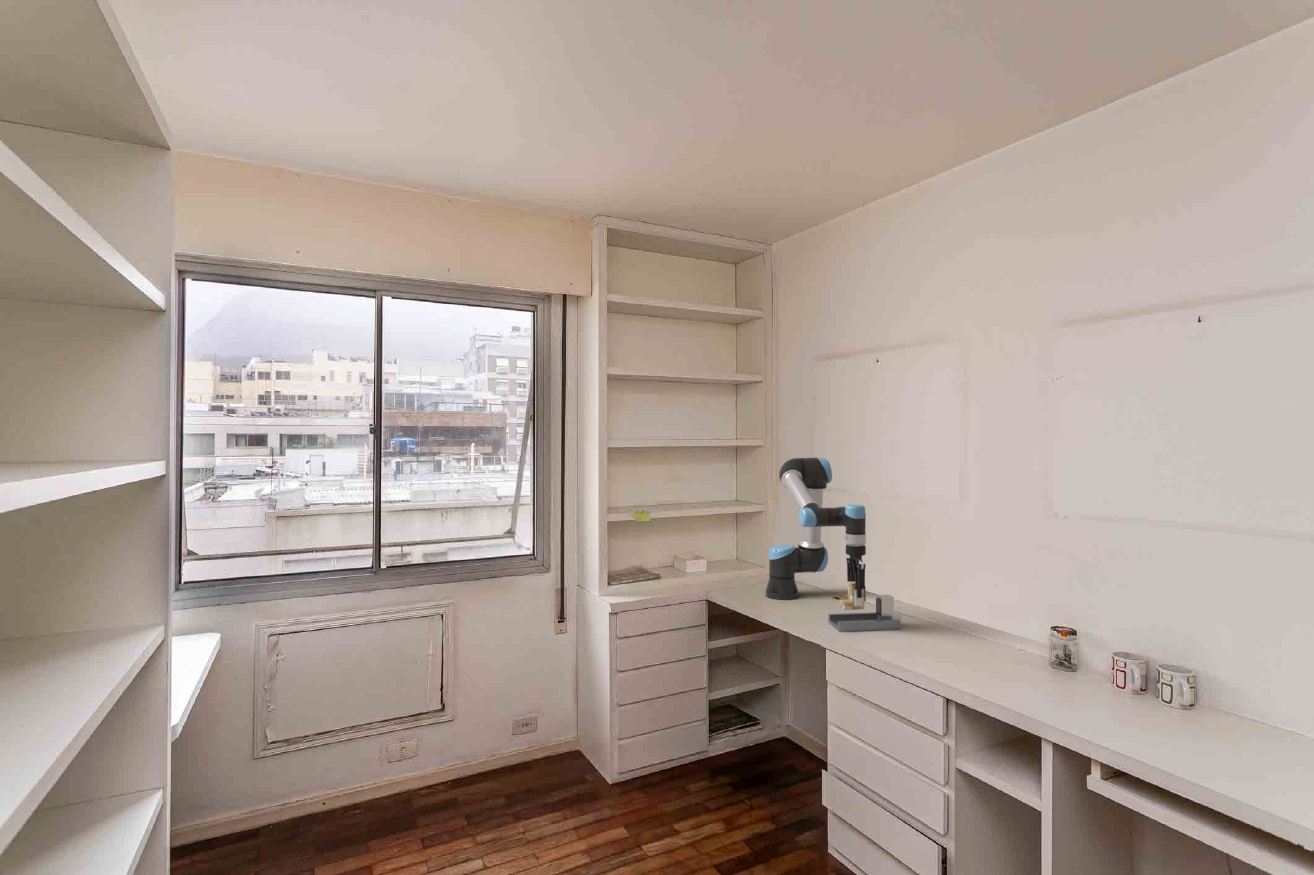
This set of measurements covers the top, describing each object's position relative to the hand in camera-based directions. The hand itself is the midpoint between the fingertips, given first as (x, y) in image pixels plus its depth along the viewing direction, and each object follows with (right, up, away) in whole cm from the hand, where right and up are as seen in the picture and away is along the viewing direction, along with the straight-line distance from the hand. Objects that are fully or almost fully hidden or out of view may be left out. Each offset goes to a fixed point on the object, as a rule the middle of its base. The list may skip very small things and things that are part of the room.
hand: (856, 604), depth 262 cm
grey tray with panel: (+4, -9, +1) cm, 10 cm away
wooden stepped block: (-1, -2, 0) cm, 2 cm away
